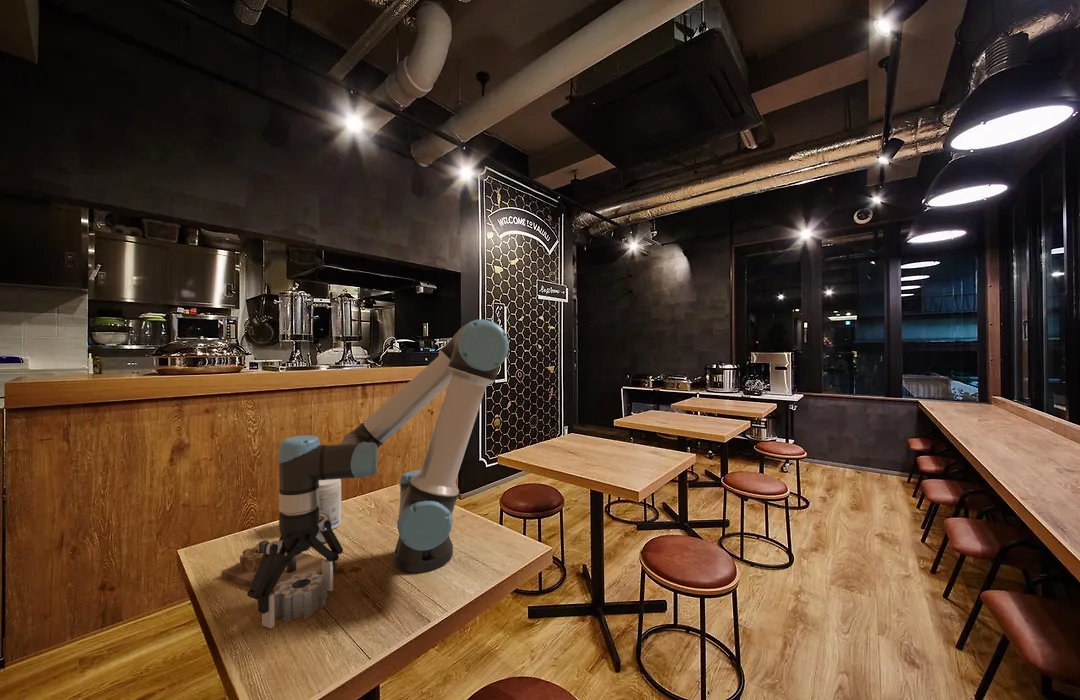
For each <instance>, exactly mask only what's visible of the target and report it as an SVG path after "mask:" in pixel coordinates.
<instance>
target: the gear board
mask: <svg viewBox="0 0 1080 700" xmlns="http://www.w3.org/2000/svg"><path fill="white" fill-rule="evenodd" d="M277 541H278V540H272V542H270V543H274V542H277ZM267 542H269V540H265V539H264V540H262V541H260V542H258V543H257V544H256V545H255V546H253V547H251V548H246V549H244V550H243V551H242V554H240V555H239V563H237V564H234V565H233V566H230V567H228V568H226V569H223V570H221V578H222V579H225V580H228V581H232V582H234V583H236V584H239V585H242V586H244V587H247V588H250V586H251V583H252V581H253V579H254V576H255V574H256V571H257V569H258V567H259V564H260V562H261V559H262V557H263V554H264V546H265V544H266V543H267ZM280 549H281V547H280V548H279V550H280ZM277 554H278V553H277ZM284 555H285V556H287V555H288V554H287V553H286V552H285V554H284ZM276 559H277V557H276ZM324 559H325V558H324V557H323V558H322V557H319V556H315V555H311V554H307V553H305V552H302V553H300V554H299V555H297V556H294V557H293V559H292V561H290V562H289V563H288V564H287V566H286V568H285V570H284V571H283V573H282V575H281V576H280V578H279V580H278V582H277V583H276V585H275V587H274V589H273V590H272V592H271V593H272V594H274V592H275V591H277V585H278V584H279V583H280V582H285V581H287V580H289V579H291V578H292V576H293V575H296V574H300V575H302V574H308V573H310V572H311V571H317V574H319V575H322V560H324ZM337 570H339V562H338V561H335V571H337ZM265 590H266V589H265Z"/></svg>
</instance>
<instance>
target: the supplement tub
mask: <svg viewBox="0 0 1080 700" xmlns="http://www.w3.org/2000/svg"><path fill="white" fill-rule="evenodd" d="M319 502H321V503H322V504H323V505H322V504H321V503H319V506H321V505H322V506H321V507H320V509H319V510H324V511H326V512H328V513H329V515H330V521H331V529H332V530H334V529H336V528H338V527H339V526H340V525H341V524H342V520H343V519H342V517H343V516H342V515H343V514H342V512H343V510H342V509H343V508H342V479H331V480H319ZM323 518H324V517H323ZM323 518H321V519H323Z"/></svg>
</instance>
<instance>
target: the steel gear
mask: <svg viewBox="0 0 1080 700" xmlns="http://www.w3.org/2000/svg"><path fill="white" fill-rule="evenodd" d="M327 598H328V590H327V576H326V575H325V574H322V575H319V574H317V571H311V572H310V573H308V574H302V575H300V574H296V575H293V576H292V578H291V579H289V580H287V581H285V582H280V583H279V584H278V585H277V591H275V592H274V618H276V619H279V618H283V622H284V623H285V622H290V623H291V622H292V621H293V620H296V619H299V618H303V619H304V620H305V619H308V618H309V617H312V615H313V613H314V612H316V611H317V610H319V609H320V610H322V609H323V608H325V606H326V603H327V601H326V600H327Z"/></svg>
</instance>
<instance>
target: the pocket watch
mask: <svg viewBox="0 0 1080 700" xmlns="http://www.w3.org/2000/svg"><path fill="white" fill-rule="evenodd" d="M319 503H321V502H319ZM321 504H322V503H321ZM322 505H323V504H322ZM322 505H321V506H322ZM321 506H319V505H318V507H319V509H320V507H321ZM323 517H324V518H323ZM321 518H323V519H325V520H329V521H330V515H329V513H328V512H326V511H324V510H319V520H320V519H321ZM334 534H335V532H334ZM335 535H336V534H335ZM316 538H317V539H318V540H319V541H321V543H322V544H326V543H327V542H326V540H325V539H324V537H323V535H322V534H321V532H320V531H319V532H318V534H317V536H316Z"/></svg>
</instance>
